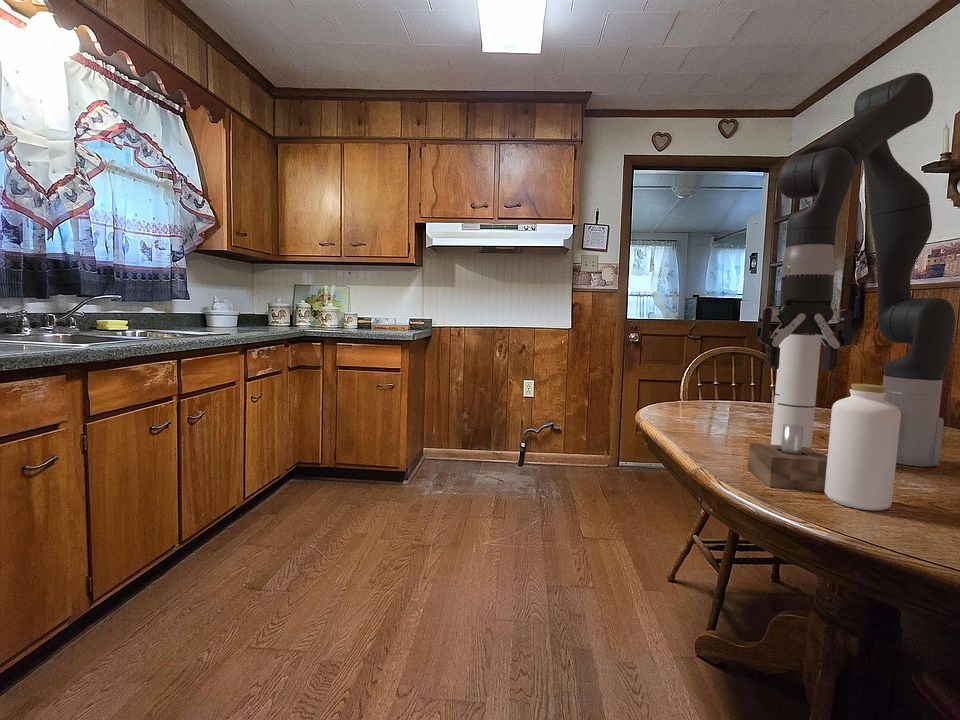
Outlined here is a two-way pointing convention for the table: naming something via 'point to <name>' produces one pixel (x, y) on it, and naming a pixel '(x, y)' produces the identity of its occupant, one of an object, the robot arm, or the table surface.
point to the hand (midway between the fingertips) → (800, 369)
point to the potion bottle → (863, 449)
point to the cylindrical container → (796, 386)
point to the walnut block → (788, 467)
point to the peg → (792, 439)
